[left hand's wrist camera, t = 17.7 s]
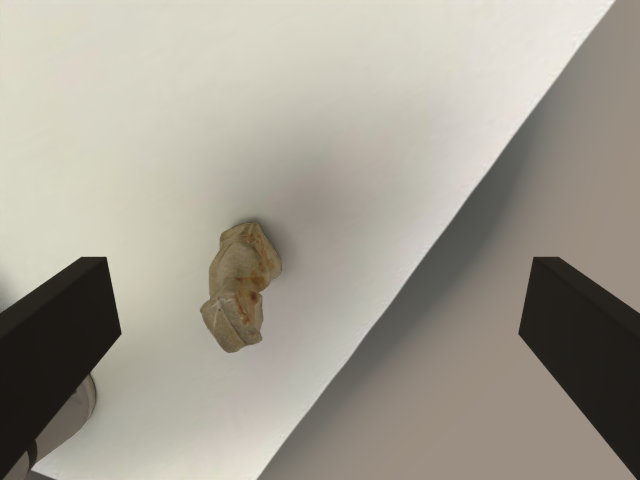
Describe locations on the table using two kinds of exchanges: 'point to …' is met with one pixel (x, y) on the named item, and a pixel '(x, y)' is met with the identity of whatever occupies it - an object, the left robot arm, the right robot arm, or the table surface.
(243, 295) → the sculpture
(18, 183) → the table surface
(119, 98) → the table surface
